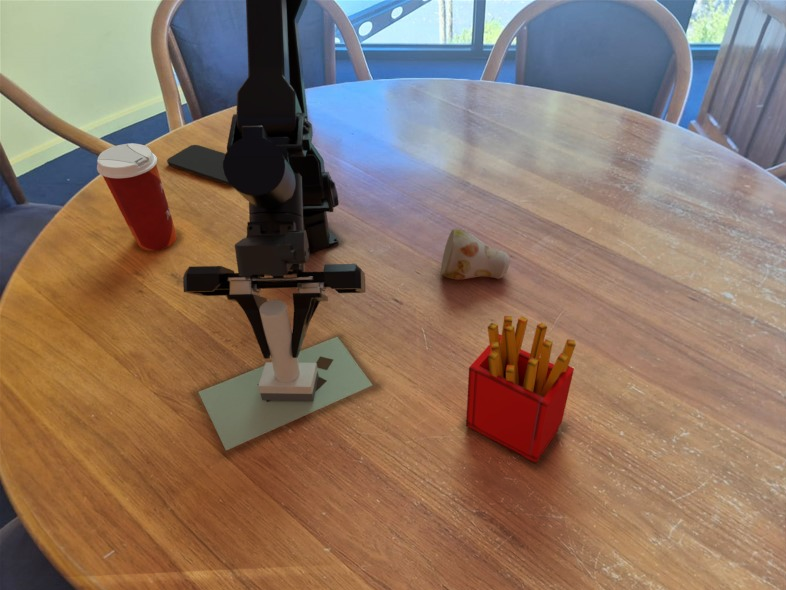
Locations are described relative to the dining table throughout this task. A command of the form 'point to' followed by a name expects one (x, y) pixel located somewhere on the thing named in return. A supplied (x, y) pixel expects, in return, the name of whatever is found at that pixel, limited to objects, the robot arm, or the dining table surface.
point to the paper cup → (138, 194)
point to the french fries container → (519, 389)
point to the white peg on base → (284, 359)
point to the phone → (200, 162)
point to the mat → (256, 416)
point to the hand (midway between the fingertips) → (280, 358)
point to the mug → (471, 258)
